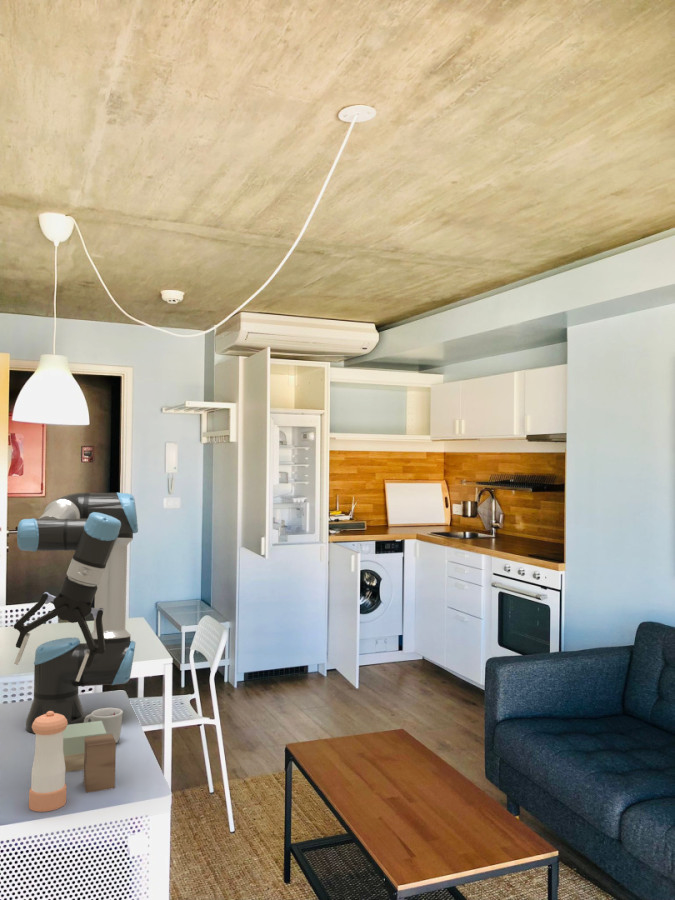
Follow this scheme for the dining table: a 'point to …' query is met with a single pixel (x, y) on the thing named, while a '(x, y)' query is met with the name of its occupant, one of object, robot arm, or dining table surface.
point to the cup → (108, 720)
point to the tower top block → (80, 736)
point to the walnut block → (99, 762)
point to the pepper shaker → (48, 764)
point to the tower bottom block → (74, 762)
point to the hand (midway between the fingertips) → (47, 671)
